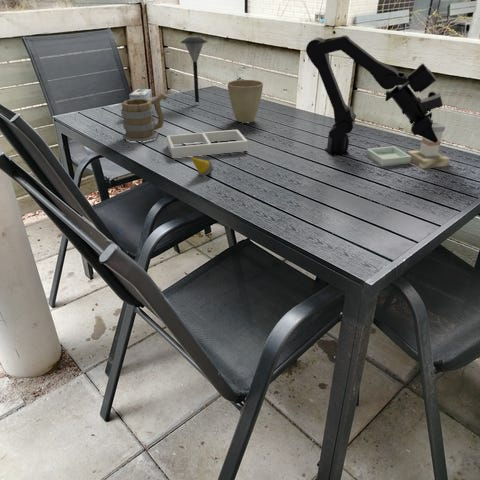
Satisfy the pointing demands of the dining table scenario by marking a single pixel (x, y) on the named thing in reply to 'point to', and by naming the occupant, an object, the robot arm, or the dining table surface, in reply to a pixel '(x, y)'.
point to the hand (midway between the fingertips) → (436, 138)
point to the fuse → (432, 143)
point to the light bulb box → (141, 94)
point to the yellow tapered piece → (202, 166)
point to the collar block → (428, 160)
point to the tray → (388, 156)
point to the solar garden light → (194, 57)
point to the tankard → (142, 118)
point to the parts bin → (207, 143)
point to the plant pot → (245, 98)
